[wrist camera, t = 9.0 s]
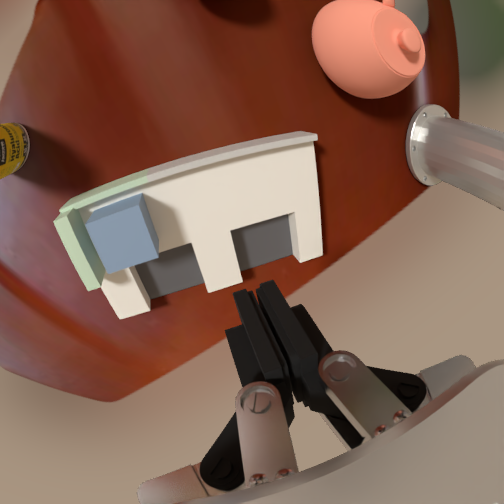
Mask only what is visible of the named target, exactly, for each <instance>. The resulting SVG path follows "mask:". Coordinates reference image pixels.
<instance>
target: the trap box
mask: <svg viewBox="0 0 504 504" xmlns="http://www.w3.org/2000/svg"><path fill="white" fill-rule="evenodd" d="M316 140H318V138H317V134H314V133H309V132H304V131H298V132H292V133H286V134H281V135H275V136H270V137H265V138H260V139H255V140H251V141H246V142H242V143H237V144H233V145H229V146H225V147H221V148H217V149H213V150H209V151H205V152H202V153H198V154H194V155H191V156H187V157H184V158H180V159H177V160H174V161H170V162H167V163H164V164H161V165H158V166H155V167H152V168H149V169H146V170H143V171H140V172H137V173H134V174H131V175H128V176H126V177H123V178H120V179H117V180H115V181H112V182H110V183H107V184H104V185H102V186H99V187H97V188H94V189H92V190H89V191H87V192H85V193H82V194H80V195H78V196H75V197H73V198H71V199H70V200H69V201H68V202H67V203H66V204H65V205H64V206H63V207H62V208H61V209H60V210H59V211H60V213H61V214H60V215H59V216H58V217H57V218H56V219H55V220H54V224H55V227H56V229H57V231H58V233H59V236H60V238H61V240H62V242H63V244H64V246H65V248H66V250H67V252H68V254H69V256H70V258H71V260H72V262H73V264H74V266H75V268H76V270H77V272H78V274H79V275H80V277H81V279H82V281H83V283H84V285H85V286H86V288H87V290H88V291H90V290H93V289H96V288H100V287H101V288H102V290H103V292H104V294H105V295H106V297H107V299H108V301H109V302H110V304H111V306H112V307H113V309H114V311H115V312H116V314H117V316H118V317H119V319H123V318H127V317H130V316H134V315H137V314H140V313H144V312H147V311H150V299H153V298H157V297H160V296H163V295H166V294H170V293H173V292H176V291H179V290H183V289H186V288H189V287H192V286H195V285H199V284H202V283H205V284H206V287H207V290H208V293H210V292H213V291H216V290H219V289H222V288H225V287H229V286H232V285H235V284H238V283H241V282H243V281H242V277H241V273H240V271H243V270H246V269H249V268H252V267H256V266H259V265H262V264H265V263H268V262H271V261H274V260H277V259H280V258H283V257H286V256H289V255H294V256H295V257H296V258H297V260H298V261H299V262H300V263H301V262H304V261H307V260H310V259H313V258H316V257H319V256H322V255H323V249H322V231H321V216H320V203H319V191H318V180H317V170H316V161H315V152H314V144H313V141H316ZM140 193H143V196H144V199H145V202H146V205H147V208H148V211H149V214H150V217H151V220H152V222H153V225H154V228H155V231H156V233H157V236H158V239H159V258H156V259H153V260H150V261H147V262H144V263H141V264H137V265H134V266H131V267H128V268H125V269H122V270H119V271H116V272H113V273H110V274H108V273H107V271H106V269H105V267H104V265H103V263H102V261H101V259H100V257H99V255H98V253H97V250H96V248H95V246H94V244H93V242H92V240H91V237H90V235H89V233H88V231H87V228H86V226H85V224H86V222H87V221H88V219H89V218H90V216H91V215H92V213H93V212H94V210H97V209H99V208H102V207H104V206H107V205H110V204H112V203H115V202H118V201H120V200H123V199H126V198H129V197H131V196H134V195H137V194H140Z"/></svg>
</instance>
